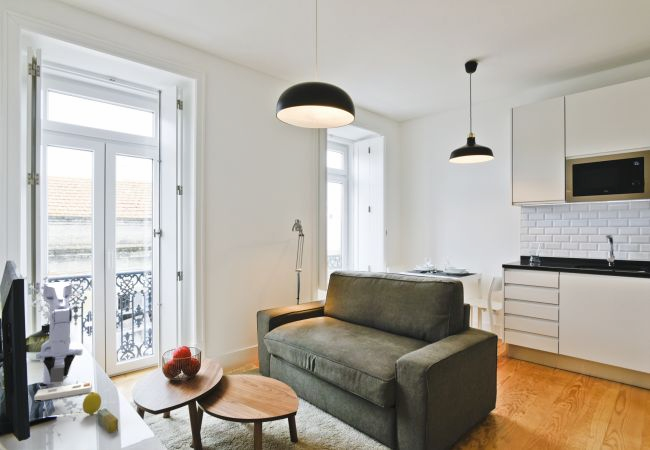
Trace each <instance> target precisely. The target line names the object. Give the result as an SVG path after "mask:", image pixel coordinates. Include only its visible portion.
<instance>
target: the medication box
mask: <svg viewBox="0 0 650 450" xmlns="http://www.w3.org/2000/svg"><path fill="white" fill-rule="evenodd" d="M96 412H97V422H98V423H99V425H101V426H102V427H103V428H104V430H106V431H107V433H109V434H111V433H114V431H115V432H117V431H119V419H118V417H116V416H115V415H114V414H113V413H111V412H110V411H109V410H108V409H107V408H106V407H103V408H101V409H100V408H99V409H98V411H96ZM116 430H117V431H116Z"/></svg>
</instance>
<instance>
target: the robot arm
mask: <svg viewBox="0 0 650 450" xmlns="http://www.w3.org/2000/svg"><path fill="white" fill-rule="evenodd" d="M72 285H73V284H72V282H71V281H70V280H69V281H60V282H45V283H44V284H43V293H42V294H43V296H42V297H43V298H42V299H43V301H44V302H48V304H49V306H50V307H49V311H50V312H49V335H48V336H49V339H48V340H45V341H44V342H43V343H42V344H41V346H40V352H38V353H36V356H35V359H36V360H39V361H40V363H41V364H43V380H42V382H43V383H42V384H44V385H52V384H53V385H54V382H51V383H50V375H51V368H53V367H54V366H55V365H63V364H64V365H65V369H64V376H67V378H68V377H69V372H70V369H71V365H72V363H73V361H74V359H75V357H76V356H78V357H79V356H82V355H83V353H84V352H83V351H84V349H83V348H80V349H76V348H75V349H71V348H70V341H71V340H70V338H71V337H70V334H71V323H72V321H73V309H72V307H70V303H69V299H70V298H71V295H72V287H73V286H72Z"/></svg>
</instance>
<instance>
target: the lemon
mask: <svg viewBox="0 0 650 450" xmlns="http://www.w3.org/2000/svg"><path fill="white" fill-rule="evenodd" d="M101 404H102V398H101V395H100V394H99V393H98V392H95V391H92V392H91V391H90V392H89V393H87V395H85V397H84V399H83V402H82V410H83V412H84V413H86V415H91V416H93V415H94V414H95V413H96V412H97V411H98V410H100V408H101Z"/></svg>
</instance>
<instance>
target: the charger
mask: <svg viewBox="0 0 650 450" xmlns="http://www.w3.org/2000/svg"><path fill="white" fill-rule="evenodd" d="M64 369H65V365H64V364H63V365H55V366H54V367H53V368H51V375H50V383H51V382H54V384H53V387H59V386H62V385H64V380H66V378H68V377H67V376H68V375H67V376H64Z"/></svg>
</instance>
